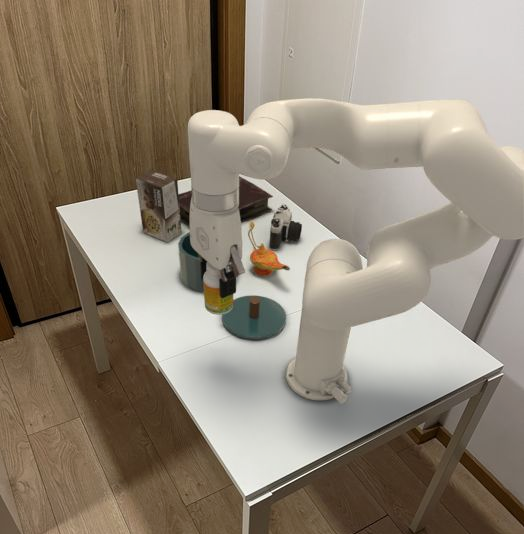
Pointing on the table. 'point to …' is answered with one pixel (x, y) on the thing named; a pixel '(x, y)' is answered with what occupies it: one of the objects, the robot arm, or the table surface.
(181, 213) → the diary
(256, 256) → the magic lamp
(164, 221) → the coffee box
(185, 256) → the tin
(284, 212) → the camera
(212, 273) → the supplement bottle
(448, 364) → the table surface
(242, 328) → the lid
